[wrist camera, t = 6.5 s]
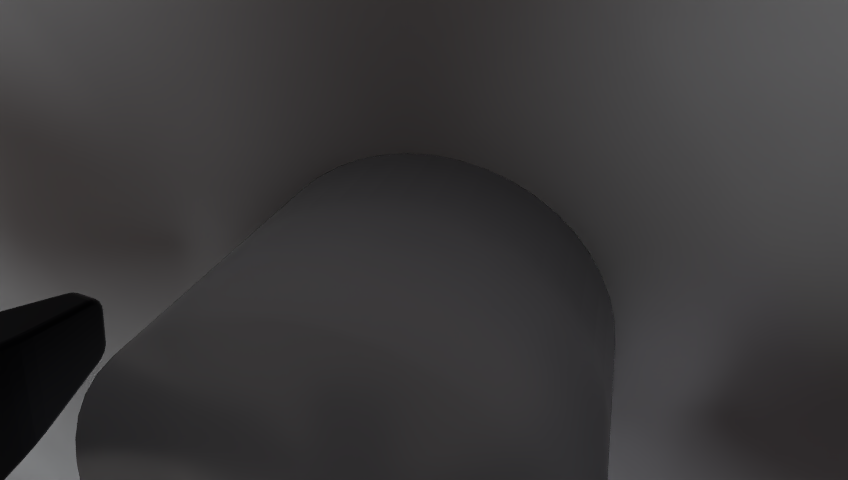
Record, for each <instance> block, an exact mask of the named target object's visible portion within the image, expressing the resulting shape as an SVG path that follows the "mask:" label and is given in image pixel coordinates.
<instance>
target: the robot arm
mask: <svg viewBox="0 0 848 480" xmlns="http://www.w3.org/2000/svg"><path fill="white" fill-rule="evenodd" d="M105 346H106V339H105V329H104V318H103V308H102V305H101V304H100V302H99V301H98V300H96V299H94V298H91V297H88V296H85V295H82V294H79V293H67V294H64V295H60V296H56V297H52V298H49V299H45V300H41V301H38V302H34V303H30V304H27V305H23V306H19V307H16V308H12V309H8V310H5V311H1V312H0V480H5V478H6V477H7V476H8V475H9V474H10V473H11V472H12V471H13V470H14V469H15V468H16V466H17V465H18V464H19V463H20V462H21V461H22V460H23V459H24V458H25V457H26V455H27V454H28V453H29V452H30V451H31V450H32V449H33V447H34V446H35V445H36V444H37V443H38V441H39V440H40V439H41V438H42V437H43V435H44V434H45V433H46V432H47V430H48V429H49V428H50V426H51V425H52V424H53V422H54V421H55V420H56V418H57V417H58V416H59V414H60V413H61V412H62V410H63V409H64V408H65V406H66V405H67V404H68V402H69V401H70V400H71V398H72V397H73V396H74V394H75V393H76V392H77V390H78V389H79V388H80V387H81V385H82V384H83V383H84V381H85V380H86V379H87V377H88V376H89V375H90V373H91V372H92V371H93V369H94V368H95V367H96V365H97V364H98V363H99V361H100V360H101V358H102V356H103V354H104V351H105Z"/></svg>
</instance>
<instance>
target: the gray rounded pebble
mask: <svg viewBox="0 0 848 480" xmlns="http://www.w3.org/2000/svg"><path fill="white" fill-rule="evenodd" d="M614 354H615V327H614V317H613V312H612V307H611V302H610V297H609V295H608V292H607V289H606V287H605V284H604V281H603V279H602V276H601V274H600V272H599V270H598V268H597V266H596V265H595V263H594V261H593V259H592V257H591V255H590V253H589V252H588V251H587V249H586V248H585V247H584V245H583V244H582V242H581V241H580V240H579V238H578V237H577V236H576V234H575V233H574V232H573V231H572V230H571V228H570V227H569V226H568V225H567V224H566V223H565V222H564V221H563V220H562V219H561V218H560V217H559V216H558V215H557V214H556V213H555V212H554V211H553V210H551V209H550V208H549V207H548V206H547V205H545V204H544V203H543V202H542V201H540V200H539V199H538V198H537V197H536V196H534V195H533V194H531V193H530V192H528V191H526V190H525V189H523V188H522V187H520V186H518V185H517V184H515V183H514V182H512V181H510V180H508V179H506V178H504V177H502V176H500V175H497V174H495V173H493V172H491V171H489V170H487V169H484V168H481V167H478V166H475V165H472V164H469V163H466V162H463V161H460V160H455V159H450V158H445V157H440V156H435V155H423V154H408V153H407V154H391V155H380V156H375V157H370V158H365V159H360V160H357V161H354V162H351V163H348V164H346V165H343V166H340V167H337V168H335V169H333V170H332V171H330V172H328V173H326V174H324V175H322V176H320V177H319V178H317V179H316V180H314V181H313V182H312V183H310V184H309V185H308V186H307V187H305V188H304V189H303V190H301V191H300V192H299V193H298V194H297V195H296V196H294V197H293V198H292V199H291V200H290V201H289V202H288V203H286V204H285V205H284V206H283V207H282V208H281V209H280V210H279V211H277V212H276V213H275V214H274V215H273V216H272V217H271V218H269V219H268V220H267V221H266V222H265V223H264V224H263V225H262V226H260V227H259V228H258V229H257V230H256V231H255V232H254V233H252V234H251V235H250V236H249V237H248V238H247V239H246V240H244V241H243V242H242V243H241V244H240V245H239V246H238V247H237V248H235V249H234V250H233V251H232V252H231V253H230V254H229V255H227V256H226V257H225V258H224V259H223V260H222V261H221V262H220V263H218V264H217V265H216V266H215V267H214V268H213V269H212V270H210V271H209V272H208V273H207V274H206V275H205V276H204V277H202V278H201V279H200V280H199V281H198V282H197V283H196V284H195V285H193V286H192V287H191V288H190V289H189V290H188V291H187V292H185V293H184V294H183V295H182V296H181V297H180V298H179V299H178V300H176V301H175V302H174V303H173V304H172V305H171V306H170V307H168V308H167V309H166V310H165V311H164V312H163V313H162V314H160V315H159V316H158V317H157V318H156V319H155V320H154V321H153V322H151V323H150V324H149V325H148V326H147V327H146V328H145V329H143V330H142V331H141V332H140V333H139V334H138V335H137V336H136V337H134V338H133V339H132V340H131V341H130V342H129V343H128V344H126V345H125V346H124V347H123V348H122V349H121V350H120V351H118V352H117V353H116V354H115V355H114V356H113V357H112V358H111V359H110V360H109V361H108V362H107V364H106V365H105V366H104V367H103V368H102V369H101V370H100V371H99V372H98V374H97V375H96V377H95V378H94V380H93V382H92V384H91V385H90V387H89V389H88V391H87V392H86V394H85V397H84V400H83V403H82V406H81V409H80V412H79V415H78V423H77V431H76V458H77V466H78V471H79V476H80V480H607V479H608V461H609V444H610V426H611V408H612V390H613V372H614Z"/></svg>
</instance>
